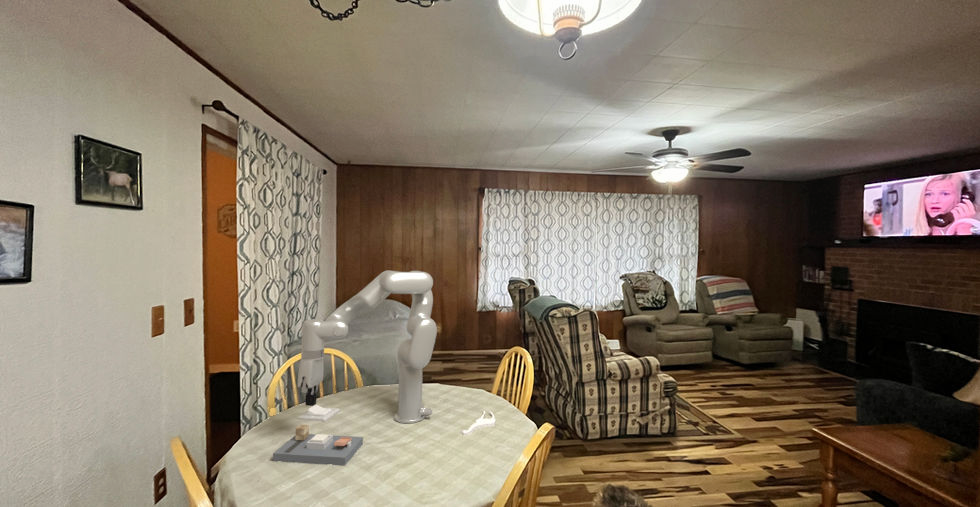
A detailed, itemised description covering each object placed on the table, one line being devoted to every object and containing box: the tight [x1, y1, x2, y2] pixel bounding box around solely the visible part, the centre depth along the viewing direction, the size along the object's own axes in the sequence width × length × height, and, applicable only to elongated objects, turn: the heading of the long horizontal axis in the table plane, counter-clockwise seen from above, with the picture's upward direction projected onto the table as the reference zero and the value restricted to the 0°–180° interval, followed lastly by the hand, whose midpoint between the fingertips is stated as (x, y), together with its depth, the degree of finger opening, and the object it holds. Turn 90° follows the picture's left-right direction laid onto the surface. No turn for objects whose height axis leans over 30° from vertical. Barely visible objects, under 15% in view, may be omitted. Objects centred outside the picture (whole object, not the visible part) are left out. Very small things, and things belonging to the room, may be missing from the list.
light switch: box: [296, 404, 341, 422], centre depth 163 cm, size 11×4×13 cm
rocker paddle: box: [334, 437, 352, 446], centre depth 132 cm, size 3×6×2 cm, turn 175°
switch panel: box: [272, 433, 364, 466], centre depth 132 cm, size 24×14×4 cm, turn 85°
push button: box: [311, 433, 330, 443], centre depth 132 cm, size 4×4×2 cm
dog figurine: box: [459, 410, 497, 437], centre depth 156 cm, size 2×13×20 cm
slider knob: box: [295, 424, 310, 440], centre depth 136 cm, size 3×3×4 cm
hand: (310, 404), depth 142 cm, fingers closed
